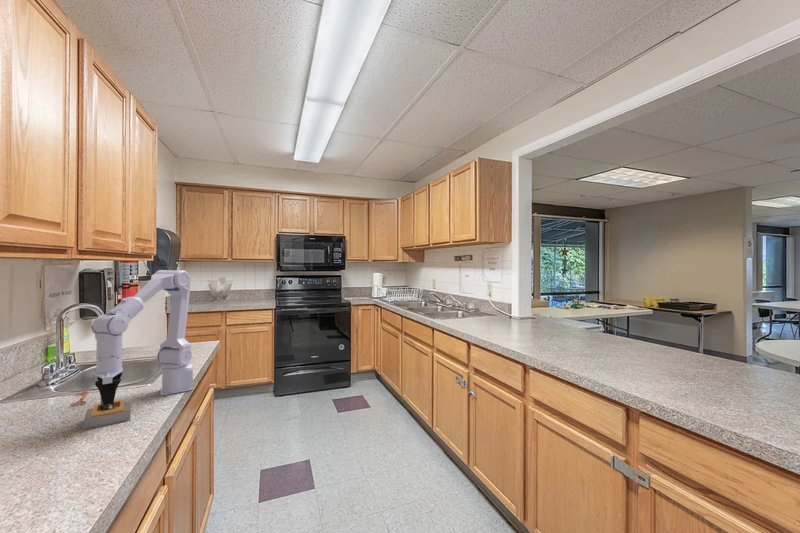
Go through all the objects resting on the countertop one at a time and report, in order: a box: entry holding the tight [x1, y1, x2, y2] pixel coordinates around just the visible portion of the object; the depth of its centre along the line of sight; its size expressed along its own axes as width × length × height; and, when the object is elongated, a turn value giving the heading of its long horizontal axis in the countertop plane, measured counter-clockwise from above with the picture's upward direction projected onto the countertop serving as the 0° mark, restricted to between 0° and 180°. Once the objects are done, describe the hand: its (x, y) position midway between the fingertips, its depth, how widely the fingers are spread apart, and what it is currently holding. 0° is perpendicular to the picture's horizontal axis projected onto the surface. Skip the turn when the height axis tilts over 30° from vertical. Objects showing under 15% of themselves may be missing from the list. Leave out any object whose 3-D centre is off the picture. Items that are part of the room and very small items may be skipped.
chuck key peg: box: [99, 393, 114, 411], centre depth 97 cm, size 3×3×6 cm
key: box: [69, 389, 90, 407], centre depth 112 cm, size 6×1×15 cm
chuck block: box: [83, 399, 132, 431], centre depth 97 cm, size 10×8×4 cm
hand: (108, 401), depth 97 cm, fingers open, 4 cm apart
